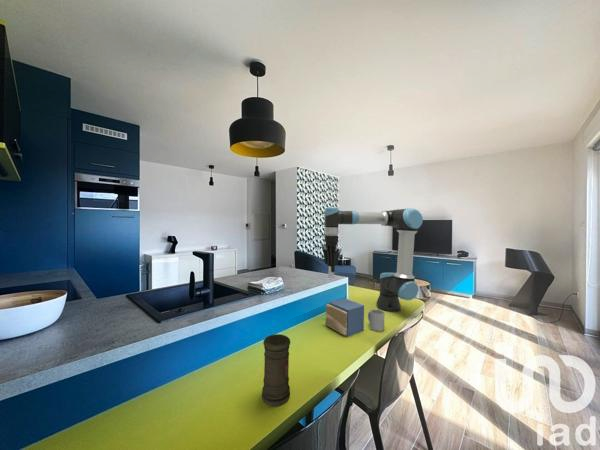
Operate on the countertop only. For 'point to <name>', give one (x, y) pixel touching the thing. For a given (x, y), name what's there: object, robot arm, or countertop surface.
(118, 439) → the countertop surface
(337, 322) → the door
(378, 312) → the cup
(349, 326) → the cabinet
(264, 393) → the container
